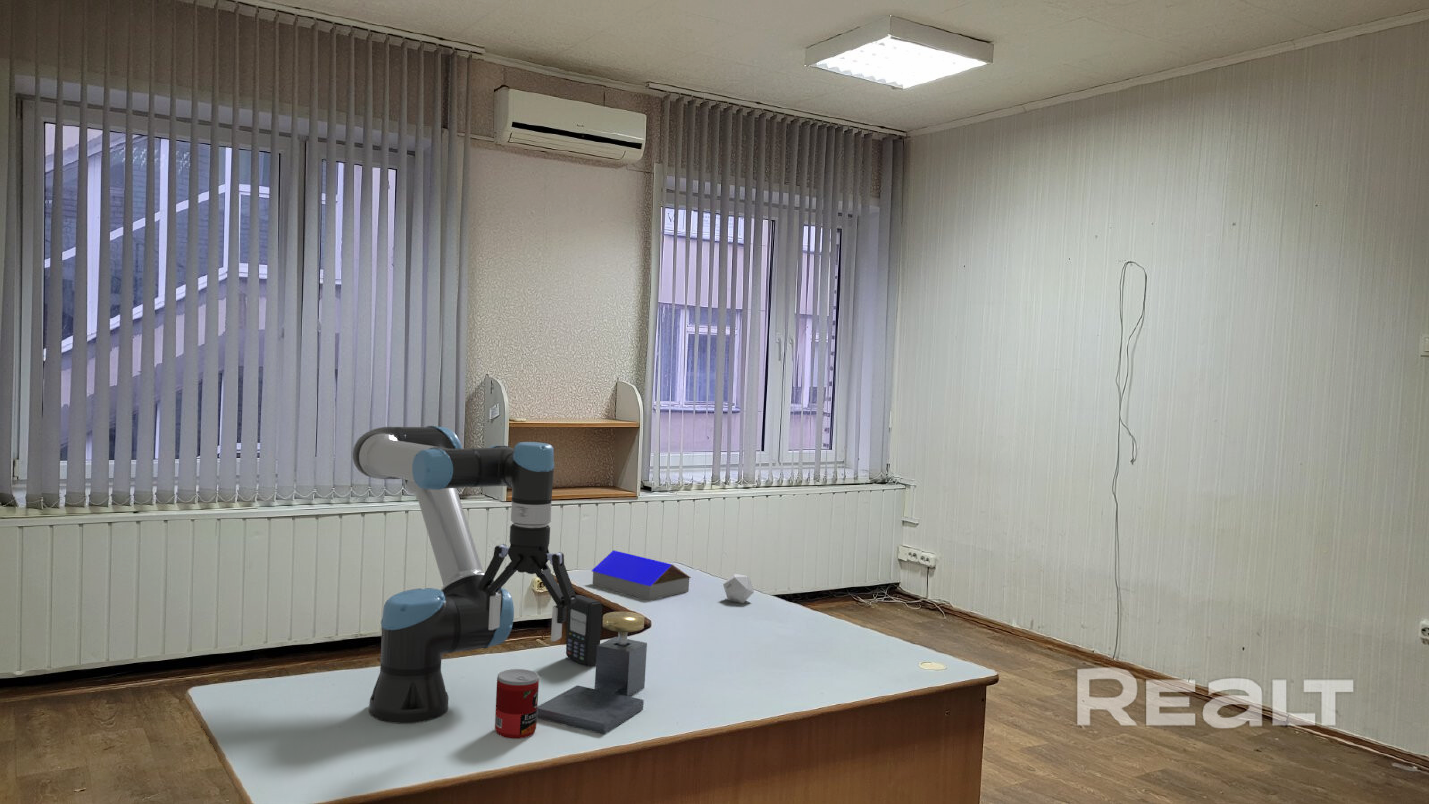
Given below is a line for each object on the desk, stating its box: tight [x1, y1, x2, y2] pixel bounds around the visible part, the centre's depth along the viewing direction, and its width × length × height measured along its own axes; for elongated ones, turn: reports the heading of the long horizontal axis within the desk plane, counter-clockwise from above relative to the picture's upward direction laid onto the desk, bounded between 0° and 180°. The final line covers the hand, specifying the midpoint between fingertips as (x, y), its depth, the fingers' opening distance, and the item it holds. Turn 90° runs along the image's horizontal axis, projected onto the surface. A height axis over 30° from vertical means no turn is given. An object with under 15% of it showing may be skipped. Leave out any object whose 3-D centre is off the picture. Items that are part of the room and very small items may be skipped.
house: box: [591, 550, 692, 601], centre depth 316 cm, size 19×25×10 cm
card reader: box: [565, 594, 603, 667], centre depth 240 cm, size 9×4×15 cm, turn 45°
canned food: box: [494, 668, 540, 740], centre depth 195 cm, size 8×8×11 cm
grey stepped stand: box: [537, 636, 648, 735], centre depth 213 cm, size 16×28×10 cm, turn 156°
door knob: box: [601, 611, 645, 647], centre depth 222 cm, size 9×9×10 cm
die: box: [722, 573, 755, 604], centre depth 307 cm, size 8×9×10 cm
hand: (524, 634), depth 195 cm, fingers open, 13 cm apart
